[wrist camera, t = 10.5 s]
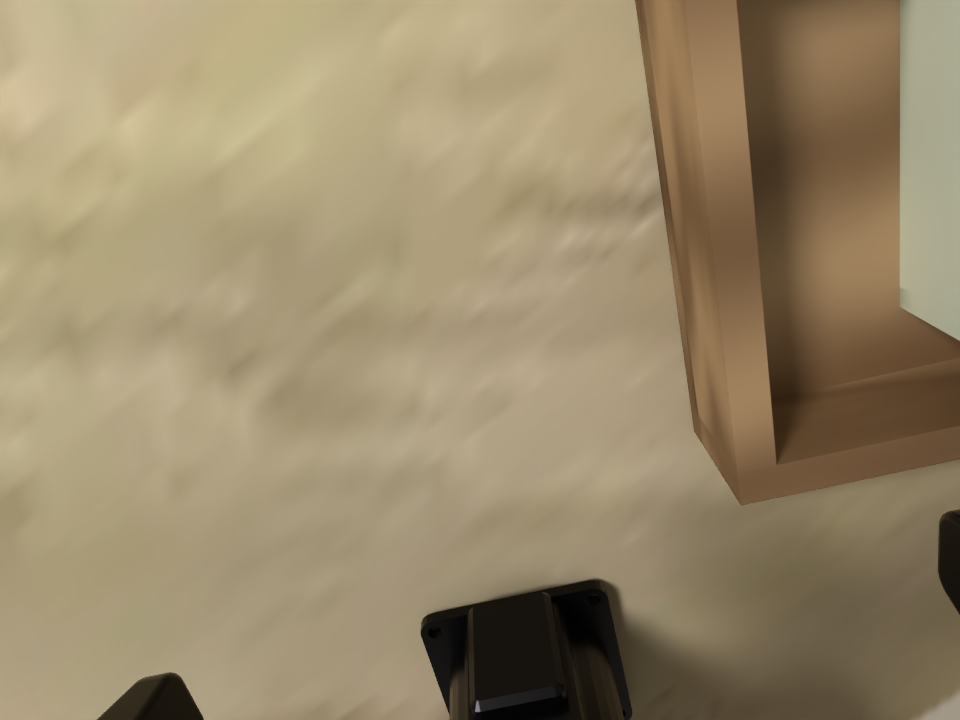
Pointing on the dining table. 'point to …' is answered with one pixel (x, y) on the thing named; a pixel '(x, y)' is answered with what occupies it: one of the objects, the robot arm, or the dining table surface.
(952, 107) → the small crate
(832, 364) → the crate
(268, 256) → the dining table surface
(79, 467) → the dining table surface
